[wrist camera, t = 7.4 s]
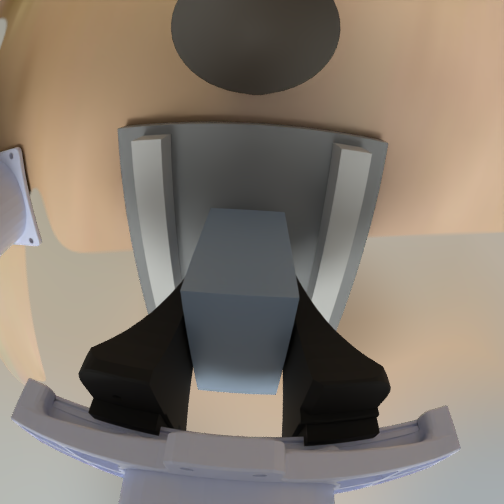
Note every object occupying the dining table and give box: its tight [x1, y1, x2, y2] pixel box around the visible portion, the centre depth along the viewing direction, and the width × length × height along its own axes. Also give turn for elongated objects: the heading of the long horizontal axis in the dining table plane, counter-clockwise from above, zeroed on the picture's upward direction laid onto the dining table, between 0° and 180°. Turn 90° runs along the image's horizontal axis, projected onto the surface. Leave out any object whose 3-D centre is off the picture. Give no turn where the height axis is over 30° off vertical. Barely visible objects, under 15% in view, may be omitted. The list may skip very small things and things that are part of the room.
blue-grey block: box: [180, 208, 299, 395], centre depth 12 cm, size 4×6×6 cm, turn 177°
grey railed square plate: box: [118, 122, 388, 331], centre depth 16 cm, size 14×14×2 cm
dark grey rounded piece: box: [171, 0, 340, 95], centre depth 8 cm, size 5×5×6 cm
